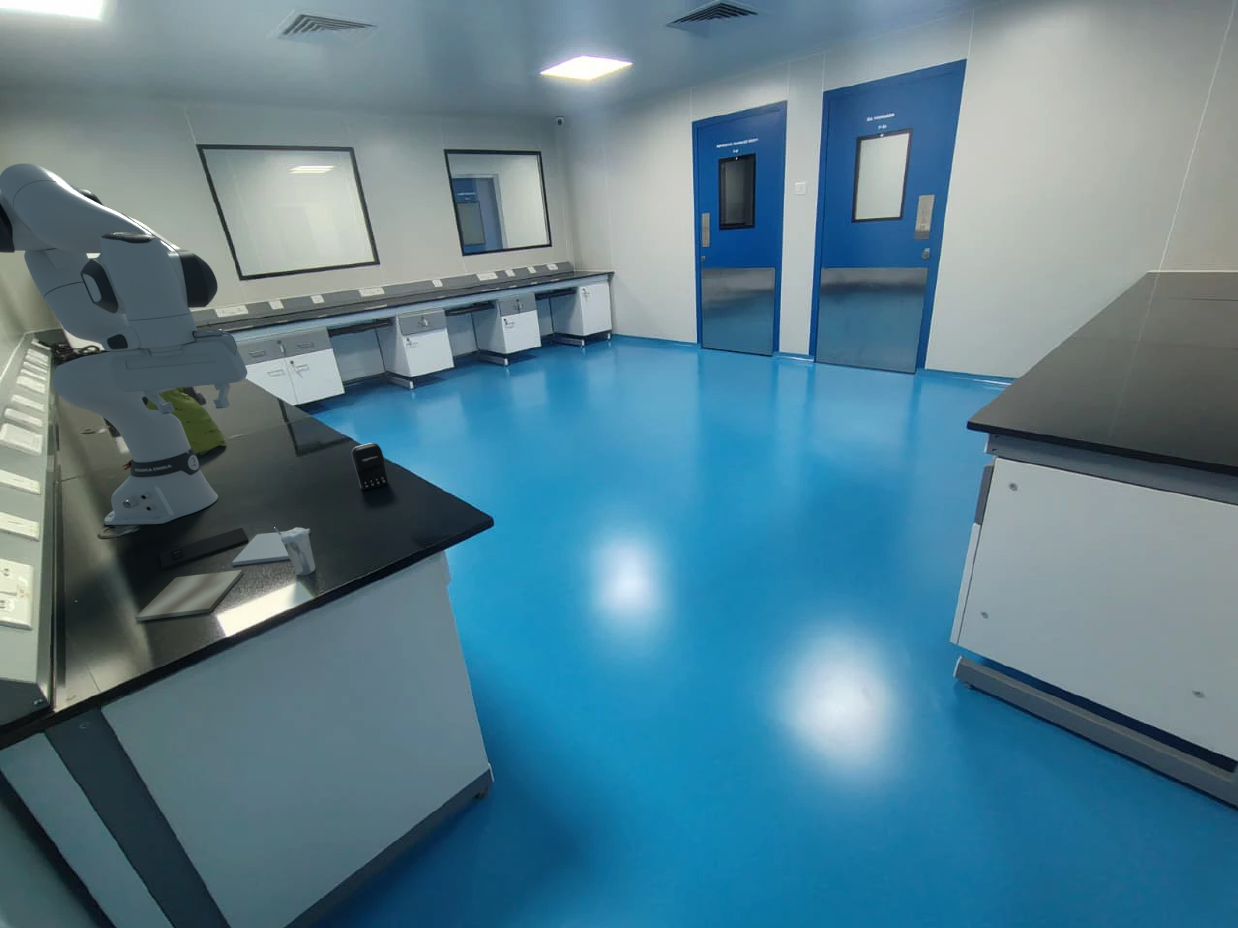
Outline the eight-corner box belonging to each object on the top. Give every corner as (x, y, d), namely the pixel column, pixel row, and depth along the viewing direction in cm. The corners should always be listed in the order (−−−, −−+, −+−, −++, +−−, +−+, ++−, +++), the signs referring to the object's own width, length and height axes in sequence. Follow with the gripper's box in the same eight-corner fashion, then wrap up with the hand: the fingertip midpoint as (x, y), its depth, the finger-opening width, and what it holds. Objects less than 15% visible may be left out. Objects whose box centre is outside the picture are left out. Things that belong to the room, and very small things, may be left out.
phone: (248, 539, 118) (161, 567, 109) (250, 544, 118) (164, 572, 109) (241, 526, 123) (158, 552, 114) (243, 531, 124) (161, 557, 115)
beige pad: (136, 621, 95) (134, 617, 94) (177, 580, 106) (175, 577, 105) (211, 611, 96) (209, 608, 96) (243, 573, 107) (242, 569, 107)
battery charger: (363, 493, 138) (352, 451, 134) (359, 488, 141) (348, 447, 137) (391, 485, 142) (381, 444, 138) (387, 480, 145) (377, 440, 140)
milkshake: (295, 566, 108) (280, 522, 104) (323, 563, 109) (309, 519, 105) (284, 579, 104) (268, 534, 100) (313, 576, 105) (298, 531, 101)
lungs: (234, 449, 172) (208, 375, 163) (175, 466, 162) (143, 387, 152) (209, 434, 187) (183, 365, 178) (153, 449, 177) (123, 376, 167)
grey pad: (233, 565, 110) (232, 562, 109) (258, 537, 120) (257, 534, 119) (291, 558, 111) (289, 555, 111) (310, 531, 121) (309, 528, 121)
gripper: (239, 325, 98) (263, 399, 103) (115, 335, 96) (147, 410, 101) (221, 331, 92) (248, 409, 97) (88, 341, 90) (123, 421, 95)
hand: (195, 410), depth 99 cm, fingers open, 8 cm apart
